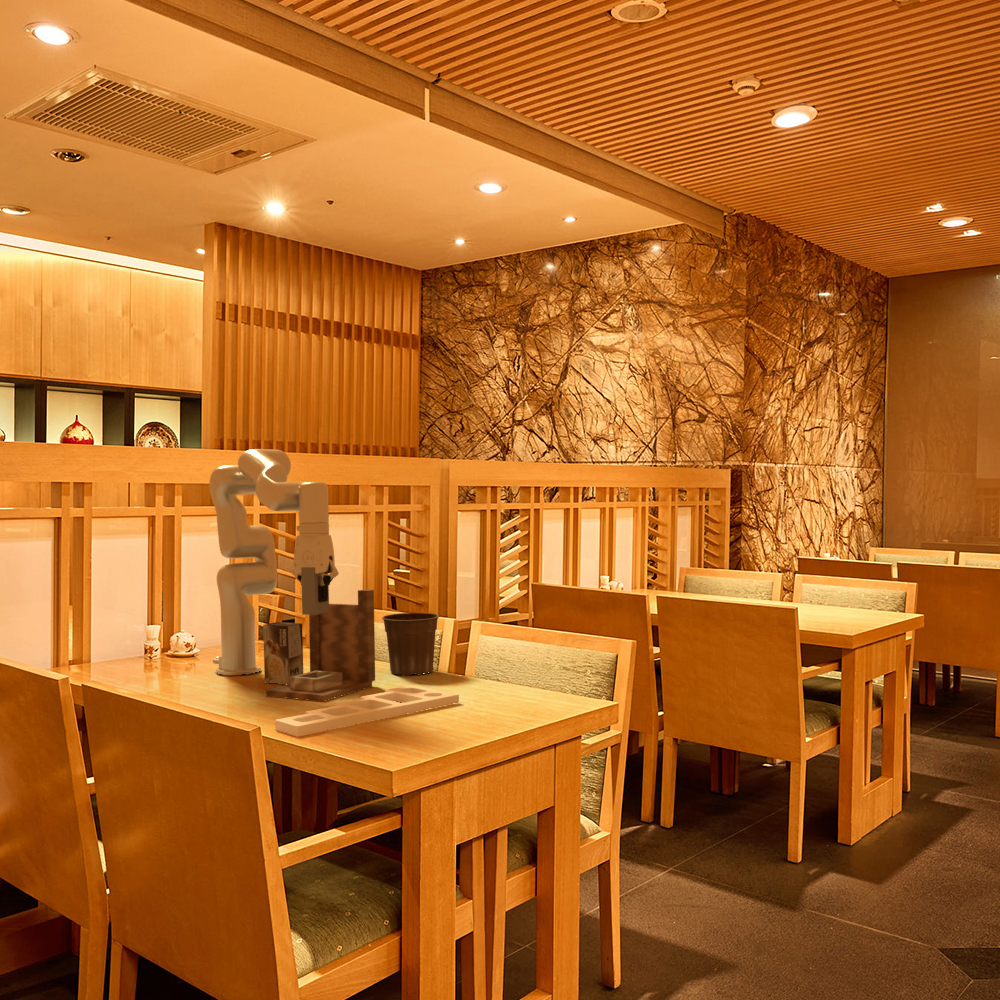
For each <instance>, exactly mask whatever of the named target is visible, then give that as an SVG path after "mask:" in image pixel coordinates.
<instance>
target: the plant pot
mask: <svg viewBox="0 0 1000 1000" xmlns="http://www.w3.org/2000/svg"><path fill="white" fill-rule="evenodd" d="M381 618H382V619H381V620H382V621H383V624H384V625H383V627H384V631H385V633H386V641H387V651H388V657H389V667H390V668H389V671H390V674H392V673H393V675H395V674H397V675H396V676H401V675H403V676H405V675H410V676H412V675H416V674H422V675H424V674H423V673H428V672H431V673H433V672H434V661H435V645H436V633H437V632H436V631H437V629H438V619H439V618H440V615H439V614H438V613H430V612H399V613H393V614H388V615H383V616H382V617H381ZM428 674H429V673H428Z"/></svg>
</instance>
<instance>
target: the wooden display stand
mask: <svg viewBox="0 0 1000 1000" xmlns="http://www.w3.org/2000/svg"><path fill="white" fill-rule="evenodd" d="M308 616H309V617H308V619H309V620H308V621H309V622H308V623H309V626H308V627H309V628H308V629H309V671H308V672H303V674H300V675H296V676H292V677H290V684H287V685H280V686H277V687H273V688H269V689H266V690H265V697H269V696H270V697H271V698H280V697H287V698H286V699H290V698H298V699H297V700H301V699H308V700H307V701H312V700H316V701H315V702H322V701H324V702H326V701H325V700H327V701H329V700H328V699H331V698H334V697H337V698H339V697H338V696H340V697H342V696H341V695H343V696H345V695H344V694H347V695H349V694H348V693H350V694H352V693H351V692H353V693H355V692H354V691H356V692H359V691H362V690H361V689H363V690H365V689H364V688H366V689H368V688H367V687H369V688H372V687H373V682H374V681H376V655H375V654H376V651H375V650H376V649H375V648H376V645H375V641H376V640H375V636H376V635H375V589H359V590H357V604H353V603H352V604H351V603H347V604H346V603H329V613H323V614H317V615H308ZM371 686H372V687H371ZM358 690H359V691H358ZM334 699H335V698H334ZM331 700H332V699H331Z"/></svg>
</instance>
